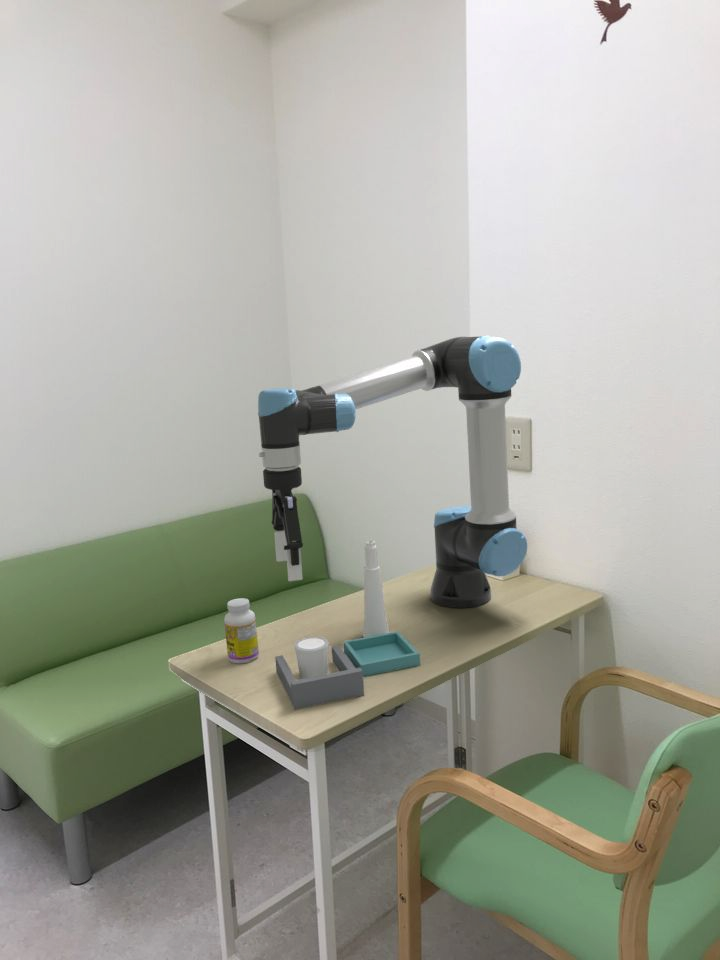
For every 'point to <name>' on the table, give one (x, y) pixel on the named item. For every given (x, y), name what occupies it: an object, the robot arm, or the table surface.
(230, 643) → the supplement bottle
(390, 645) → the tray
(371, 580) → the cosmetic bottle
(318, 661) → the shot glass
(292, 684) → the bay
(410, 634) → the table surface
